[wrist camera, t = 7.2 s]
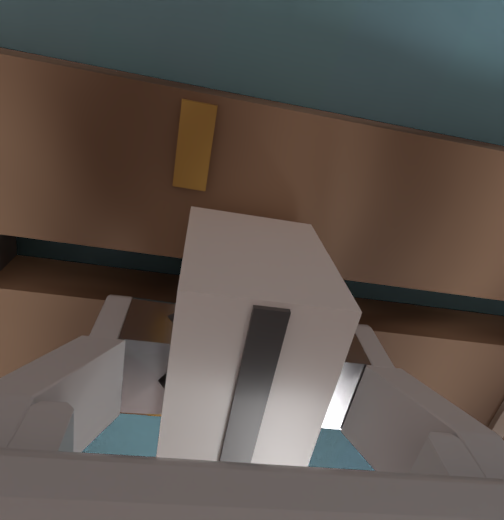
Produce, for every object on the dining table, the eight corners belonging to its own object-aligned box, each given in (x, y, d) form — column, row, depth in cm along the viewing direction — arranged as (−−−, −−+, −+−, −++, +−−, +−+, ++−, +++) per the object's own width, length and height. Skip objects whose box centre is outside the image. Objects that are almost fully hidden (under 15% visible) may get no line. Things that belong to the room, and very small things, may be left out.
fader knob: (299, 204, 12) (364, 315, 7) (264, 345, 14) (293, 512, 9) (193, 187, 11) (176, 293, 6) (174, 335, 13) (149, 506, 8)
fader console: (737, 192, 14) (824, 214, 12) (583, 411, 18) (628, 454, 16) (-39, 40, 10) (-99, 35, 8) (-8, 358, 14) (-43, 406, 12)
